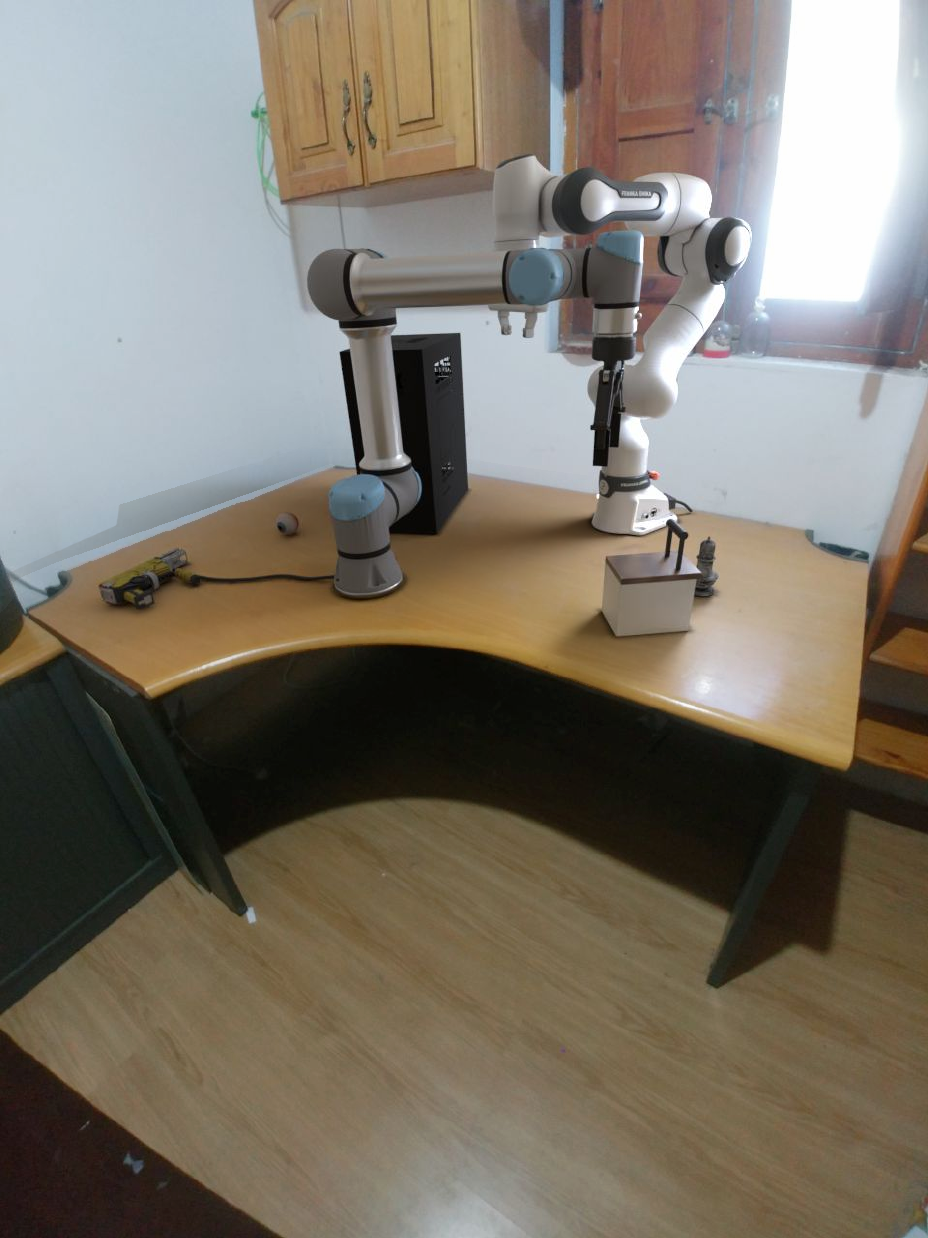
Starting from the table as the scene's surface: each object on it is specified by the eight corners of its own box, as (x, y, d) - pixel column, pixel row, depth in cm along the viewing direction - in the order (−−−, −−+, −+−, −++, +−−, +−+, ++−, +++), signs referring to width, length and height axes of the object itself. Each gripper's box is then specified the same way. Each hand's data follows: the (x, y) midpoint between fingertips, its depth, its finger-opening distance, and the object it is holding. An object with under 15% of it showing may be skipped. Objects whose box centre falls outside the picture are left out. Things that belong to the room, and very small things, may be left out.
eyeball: (273, 537, 164) (268, 516, 161) (287, 528, 169) (282, 508, 166) (291, 539, 161) (286, 518, 158) (305, 530, 166) (301, 510, 163)
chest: (668, 605, 121) (675, 556, 115) (688, 630, 112) (696, 579, 107) (601, 610, 120) (605, 561, 115) (616, 636, 112) (620, 585, 106)
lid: (679, 555, 115) (685, 513, 111) (700, 578, 107) (708, 533, 103) (605, 561, 115) (608, 519, 111) (620, 585, 106) (624, 540, 102)
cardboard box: (436, 534, 159) (422, 349, 137) (364, 531, 164) (339, 351, 141) (468, 489, 191) (460, 332, 168) (407, 487, 195) (391, 335, 173)
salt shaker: (717, 597, 122) (727, 542, 116) (687, 595, 123) (695, 541, 117) (713, 584, 127) (722, 531, 121) (684, 583, 128) (692, 530, 122)
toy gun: (224, 556, 146) (173, 545, 150) (148, 597, 126) (92, 584, 130) (226, 573, 148) (177, 563, 152) (152, 617, 128) (97, 603, 132)
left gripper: (626, 342, 95) (616, 475, 105) (644, 327, 115) (634, 440, 125) (579, 343, 97) (573, 473, 108) (604, 328, 117) (597, 439, 128)
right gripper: (558, 255, 111) (556, 338, 118) (506, 259, 127) (507, 331, 134) (528, 257, 109) (528, 341, 116) (479, 261, 125) (482, 334, 132)
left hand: (606, 456), depth 116 cm, fingers open, 13 cm apart
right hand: (516, 336), depth 125 cm, fingers open, 8 cm apart
